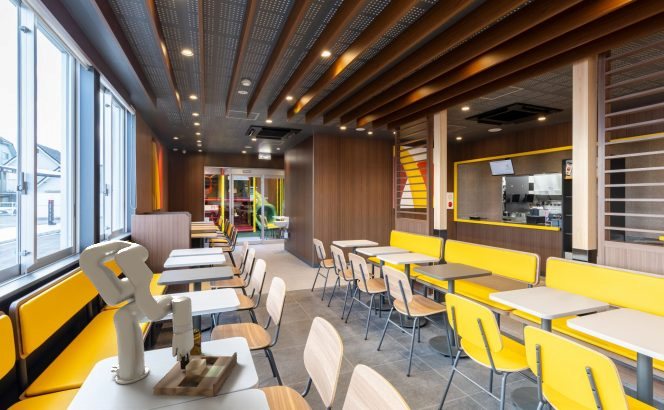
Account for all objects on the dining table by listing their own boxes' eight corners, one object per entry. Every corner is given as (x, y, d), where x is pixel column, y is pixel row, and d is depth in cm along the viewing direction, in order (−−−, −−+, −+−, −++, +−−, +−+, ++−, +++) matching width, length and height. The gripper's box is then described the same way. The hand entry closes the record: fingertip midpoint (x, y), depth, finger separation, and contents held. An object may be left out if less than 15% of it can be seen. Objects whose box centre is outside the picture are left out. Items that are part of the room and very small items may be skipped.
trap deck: (153, 394, 130) (153, 382, 130) (184, 361, 154) (184, 351, 153) (215, 396, 128) (215, 384, 128) (237, 362, 152) (236, 352, 152)
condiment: (203, 355, 159) (202, 331, 158) (184, 361, 154) (183, 336, 153) (200, 349, 165) (199, 326, 164) (182, 354, 160) (180, 330, 160)
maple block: (185, 374, 138) (185, 366, 138) (192, 366, 144) (192, 358, 144) (199, 374, 138) (199, 366, 138) (206, 366, 144) (205, 359, 143)
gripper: (183, 319, 148) (185, 358, 149) (164, 334, 133) (167, 378, 134) (199, 319, 147) (201, 359, 148) (182, 335, 132) (185, 378, 133)
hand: (185, 368), depth 141 cm, fingers closed
